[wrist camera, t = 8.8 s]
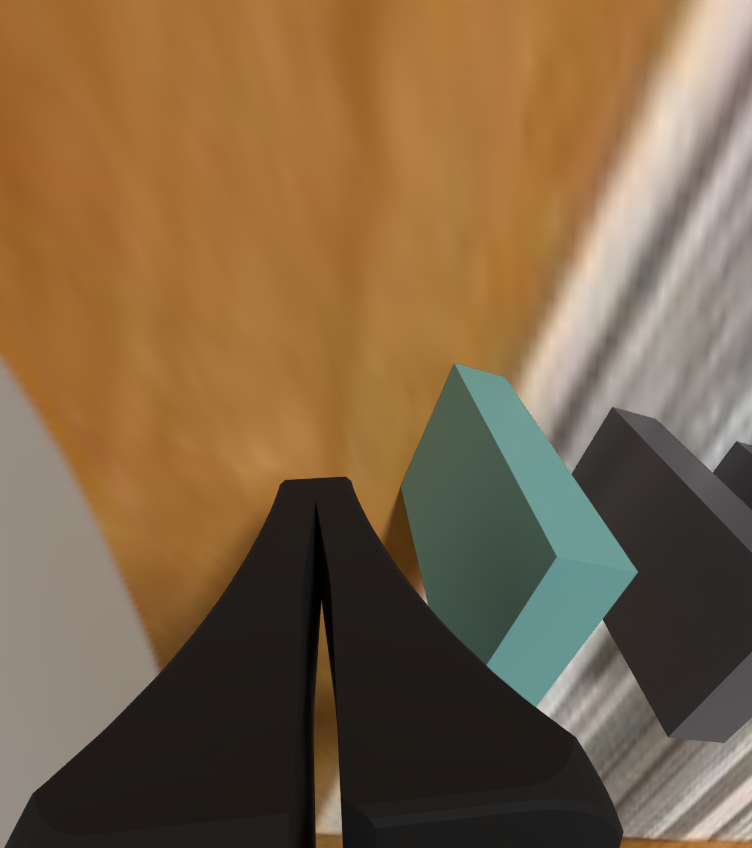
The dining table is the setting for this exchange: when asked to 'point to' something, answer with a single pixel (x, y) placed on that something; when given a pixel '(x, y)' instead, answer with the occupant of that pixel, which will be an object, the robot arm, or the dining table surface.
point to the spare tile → (507, 535)
